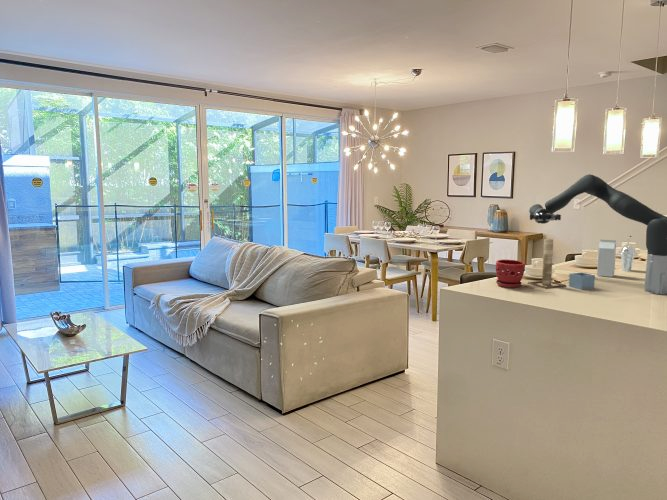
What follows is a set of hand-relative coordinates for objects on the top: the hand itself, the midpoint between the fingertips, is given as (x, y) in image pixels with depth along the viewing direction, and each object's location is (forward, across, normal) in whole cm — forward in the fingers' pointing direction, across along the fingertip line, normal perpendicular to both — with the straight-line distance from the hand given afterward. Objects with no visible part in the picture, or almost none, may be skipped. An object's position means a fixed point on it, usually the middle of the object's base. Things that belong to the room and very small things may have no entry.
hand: (546, 218), depth 242 cm
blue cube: (+13, +15, +32) cm, 38 cm away
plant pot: (+13, -17, +32) cm, 39 cm away
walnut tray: (+11, 0, +32) cm, 34 cm away
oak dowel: (+11, 0, +31) cm, 33 cm away
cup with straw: (-45, +49, +32) cm, 74 cm away
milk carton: (-26, +34, +32) cm, 53 cm away
